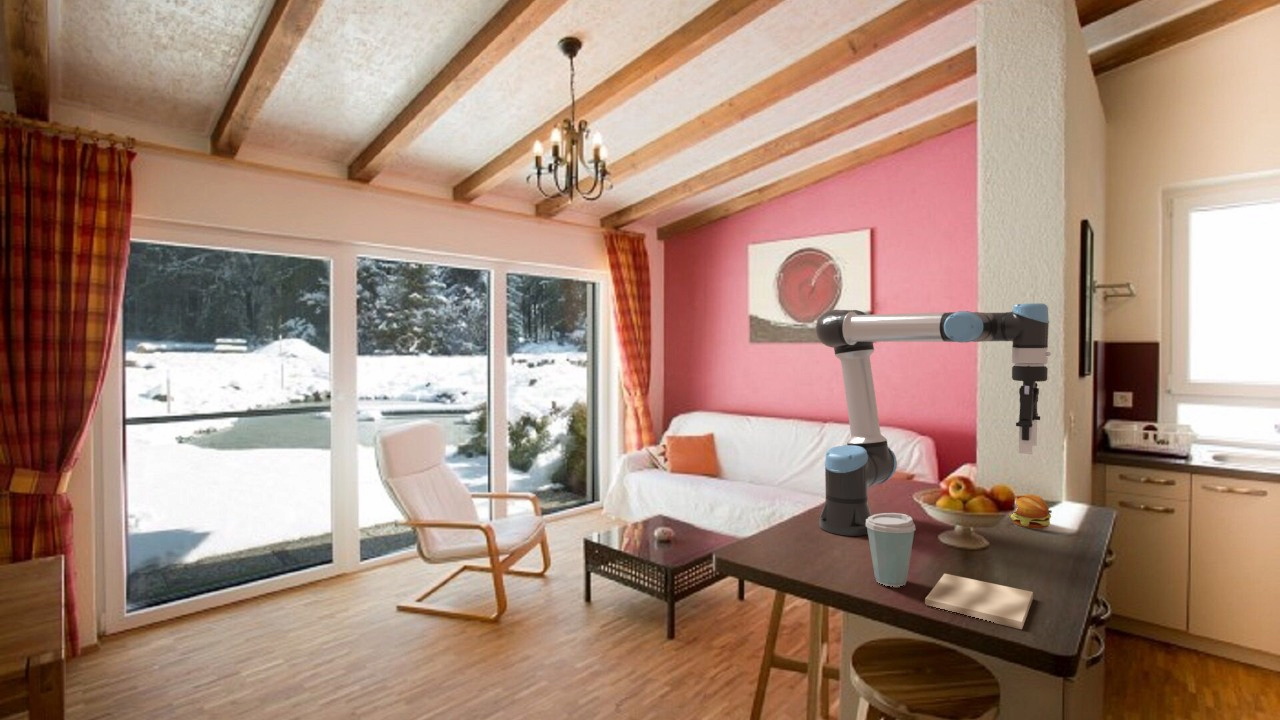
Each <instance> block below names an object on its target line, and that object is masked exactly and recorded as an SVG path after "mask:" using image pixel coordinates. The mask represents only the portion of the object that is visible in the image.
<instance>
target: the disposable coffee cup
mask: <svg viewBox="0 0 1280 720" xmlns="http://www.w3.org/2000/svg"><path fill="white" fill-rule="evenodd" d="M871 515H872V516H870V517H868V519H866V523H865V524H866V527H867V530H868V534H867V536H868V541H869V543H868V544H869V549H870V555H871V562H872V566H873V572H874V579H875V580H876V583H877V582H878V584H879V583H880V584H879V585H881V584H883V585H882V586H884V585H885V586H884V587H887V586H890V588H901V587H900V586H903V585H904V586H906V585H907V582H908V575H909V569H910V562H911V556H912V550H913V549H912V547H913V542H914V534H915V531H916V530H917V529H916V524H915V523H914V519H913V517H912V516H910V515H908V514H905V513H898V512H883V513H875V514H871ZM892 586H893V587H892ZM904 586H903V587H904Z"/></svg>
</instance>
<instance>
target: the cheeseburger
mask: <svg viewBox="0 0 1280 720" xmlns="http://www.w3.org/2000/svg"><path fill="white" fill-rule="evenodd" d="M1015 499H1016V502H1017V505H1018V509H1017V511H1016V512H1014V513H1013V514H1012V513H1011V515H1010V519H1011V521H1012V523H1013V524H1014V525H1017V526H1019V527H1023V528H1027V529H1036V530H1042V529H1048V527H1049V526H1050V525H1051V522H1050V521H1051V520H1050V519H1051V517H1052V513H1053V512H1052V510H1050V509H1049V506H1048V504H1047V503H1046V501H1045V500H1044V499H1043V498H1042V497H1041V496H1040V495H1037V494H1022V495H1018V496H1016V497H1015Z"/></svg>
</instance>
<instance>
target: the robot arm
mask: <svg viewBox="0 0 1280 720" xmlns="http://www.w3.org/2000/svg"><path fill="white" fill-rule="evenodd" d="M1049 325H1050V321H1049V307H1048V305H1047V304H1045V303H1038V302H1037V303H1036V302H1034V303H1033V302H1032V303H1017V304H1014V305H1013V307H1012V311H1009V312H981V311H979V312H976V311H975V312H974V311H970V310H969V311H968V310H961V311H954V312H953V311H952V312H944V311H943V312H922V313H921V312H919V313H918V312H917V313H915V312H914V313H885V314H883V313H882V314H880V313H879V314H869V313H867V312H865V311H862V310H858V309H853V310H852V309H851V310H850V309H831V310H829V311H826V312H824V313H823V314H821V315H820V317H819V318H818V320H817V322H816V324H815V333H816V336H817V338H818V340H819V341H820V342H821V343H822V344H823V345H824V346H826V347H829V348H833V351H834V357H836V358H837V359H839V360H840V363H841V365H840V366H841V371H842V377H843V378H842V380H843V385H844V393H845V394H844V395H845V401H846V406H847V407H846V409H847V414H848V422H849V430H850V438H849V439H848V440H847V441H846V444H845V445H838V446H833V447H831V448H829V449H828V450H827V451H826V453H825V460H824V467H825V468H824V469H825V472H824V473H825V475H824V477H825V481H824V482H825V502H824V504H823V507H822V511H821V514H820V516H819V527H820V529H821V530H823V531H825V532H827V533H831V534H836V535H839V536H847V537H849V536H853V537H855V536H868V530H867V527H866V524H865V523H866V519H868V517H870V516H872V515H873V514H872V513H871V509H870V506H869V504H868V502H869V501H868V500H869V499H868V496H869V495H868V490H869V489H868V488H870V487H873V486H876V485H877V486H878V485H882V484H883V483H885V482H887V481H889V480H890V479H891V478H892V477H893V476H894V475H895V472H896V471H897V463H898V462H897V457H896V454H895V453H894V450H891V448H890V447H889V445H888V440H887V439H888V438H887V437H885V436H883V435H882V433H881V428H880V427H881V425H880V419H879V412H878V406H877V405H878V404H877V399H876V393H875V392H876V391H875V385H874V380H873V379H874V378H873V372H872V371H873V370H872V365H871V364H872V363H871V355H872V354H873V353H874V351H875V345H874V342H875V343H877V342H878V343H879V342H885V343H887V342H895V343H896V342H897V343H898V342H905V343H907V342H908V343H911V342H913V343H914V342H919V343H923V342H924V343H925V342H927V343H929V342H933V343H934V342H936V343H937V342H940V343H943V342H945V343H946V342H947V343H948V342H949V343H971V342H974V343H979V342H980V343H981V342H982V343H983V342H1011V343H1012V346H1011V347H1012V348H1011V363H1012V364H1014V365H1012V367H1011V380H1013V381H1016V382H1022V385H1021V386H1020V387H1019V390H1018V392H1019V417H1018V422H1015V427H1018V429H1019V430H1018V454H1019V453H1020V454H1028V455H1033V446H1034V447H1037V442H1038V441H1037V440H1038V421H1041V416H1040V415H1039V414H1038V402H1039V395H1040V394H1039V393H1040V388H1038V386H1039V385H1038V383H1037V382H1041V383H1042V382H1046V381H1047V380H1048V372H1049V371H1048V369H1049V367H1047V366H1046V365H1047V364H1048V357H1049V356H1051V355H1052V353H1051V352H1050V351H1049V350H1048V349H1049Z"/></svg>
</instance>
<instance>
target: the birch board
mask: <svg viewBox="0 0 1280 720" xmlns="http://www.w3.org/2000/svg"><path fill="white" fill-rule="evenodd" d="M1033 599H1034V592H1033V591H1030V590H1026V589H1021V588H1015V587H1011V586H1007V585H1001V584H997V583H991V582H986V581H982V580H977V579H972V578H968V577H965V576H964V577H963V576H958V575H953V574H949V573H943V575H942V576H941V577H940V579H939V580H938V581H937V583H936V584H935V586H933V588H932V589H931V590H930V592H929V593H928V595H927V596H926V597H925V599H924V605H925V604H926V605H929V606H933V607H936V608H940V609H945V610H948V611H952V612H957V613H960V614H964V615H967V616H966V617H968V616H971V617H970V618H972V617H975V618H974V619H976V618H979V619H978V620H980V619H983V620H982V621H985V620H987V621H986V622H989V621H991V622H990V623H993V622H994V623H993V624H997V625H1001V626H1006V627H1010V628H1013V629H1018V630H1023V627H1024V624H1025V622H1026V619H1027V617H1028V614H1029V610H1030V608H1031V606H1032V603H1033ZM936 608H935V609H936ZM940 609H939V610H940ZM948 611H947V612H948ZM952 612H951V613H952ZM960 614H959V615H960ZM964 615H963V616H964Z"/></svg>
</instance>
